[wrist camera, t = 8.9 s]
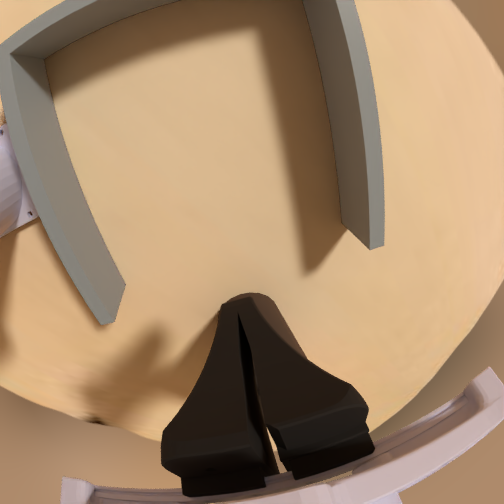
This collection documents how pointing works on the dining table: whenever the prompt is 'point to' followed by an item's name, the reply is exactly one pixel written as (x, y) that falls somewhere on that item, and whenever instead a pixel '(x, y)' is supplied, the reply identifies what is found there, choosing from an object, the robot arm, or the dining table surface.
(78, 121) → the dining table surface
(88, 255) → the gray rectangular arch
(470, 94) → the dining table surface
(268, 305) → the coffee cup
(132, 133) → the dining table surface
